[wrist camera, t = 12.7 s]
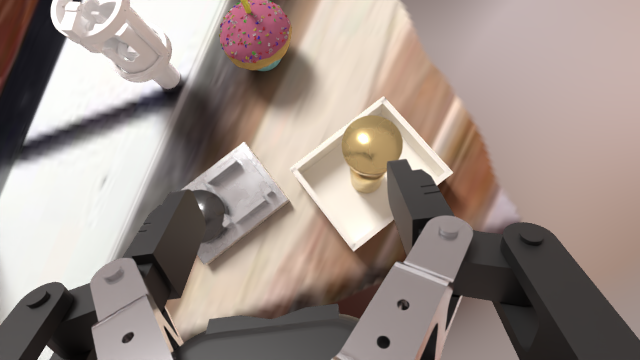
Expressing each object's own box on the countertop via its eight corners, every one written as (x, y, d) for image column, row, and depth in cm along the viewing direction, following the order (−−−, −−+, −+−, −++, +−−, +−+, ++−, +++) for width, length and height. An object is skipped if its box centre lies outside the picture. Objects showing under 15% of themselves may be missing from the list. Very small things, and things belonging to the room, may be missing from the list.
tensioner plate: (208, 264, 38) (194, 266, 35) (169, 204, 40) (153, 200, 37) (289, 201, 39) (283, 197, 35) (247, 144, 40) (237, 135, 37)
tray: (353, 250, 37) (353, 251, 33) (295, 175, 39) (289, 168, 36) (444, 179, 37) (453, 172, 34) (380, 108, 40) (383, 96, 36)
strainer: (138, 100, 43) (28, 26, 29) (151, 52, 45) (52, -42, 30) (187, 105, 42) (100, 32, 28) (199, 56, 44) (121, -39, 29)
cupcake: (231, 34, 44) (185, -42, 32) (292, 19, 43) (268, -64, 32) (239, 91, 42) (194, 32, 30) (303, 77, 42) (282, 11, 30)
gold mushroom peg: (362, 205, 37) (367, 185, 24) (338, 174, 38) (329, 139, 25) (394, 181, 37) (415, 148, 24) (369, 150, 38) (376, 103, 25)
